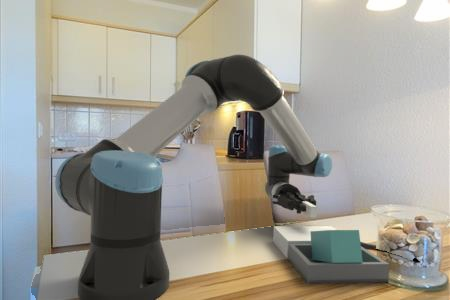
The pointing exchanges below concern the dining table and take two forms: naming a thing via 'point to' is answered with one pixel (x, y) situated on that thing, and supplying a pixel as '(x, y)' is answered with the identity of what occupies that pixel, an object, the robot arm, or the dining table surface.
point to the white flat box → (294, 235)
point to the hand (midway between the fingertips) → (313, 212)
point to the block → (336, 246)
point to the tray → (337, 267)
